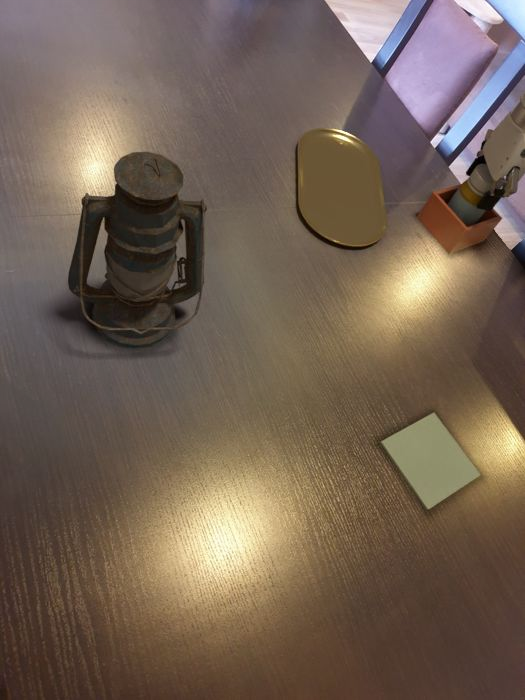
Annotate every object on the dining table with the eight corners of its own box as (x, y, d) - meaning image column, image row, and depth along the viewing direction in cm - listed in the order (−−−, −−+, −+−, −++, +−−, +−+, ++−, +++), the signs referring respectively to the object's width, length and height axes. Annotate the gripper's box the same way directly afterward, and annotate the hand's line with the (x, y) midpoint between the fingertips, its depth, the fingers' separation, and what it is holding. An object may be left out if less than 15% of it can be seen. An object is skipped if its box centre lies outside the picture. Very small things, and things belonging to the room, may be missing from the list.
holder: (451, 205, 125) (468, 181, 119) (483, 241, 121) (502, 218, 115) (416, 216, 120) (432, 192, 114) (448, 254, 116) (467, 230, 110)
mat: (432, 413, 94) (434, 412, 93) (478, 476, 89) (481, 474, 89) (379, 442, 88) (381, 441, 88) (426, 511, 84) (428, 509, 84)
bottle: (469, 230, 122) (511, 176, 110) (458, 246, 118) (500, 193, 106) (442, 212, 123) (480, 157, 111) (430, 228, 119) (468, 172, 107)
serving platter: (296, 240, 107) (299, 234, 106) (295, 125, 126) (297, 119, 125) (388, 258, 111) (391, 253, 110) (373, 144, 130) (376, 138, 129)
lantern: (190, 283, 96) (224, 136, 71) (201, 356, 88) (242, 221, 64) (69, 282, 90) (60, 121, 65) (70, 360, 83) (60, 213, 58)
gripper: (567, 154, 94) (505, 226, 108) (537, 91, 103) (483, 165, 117) (528, 145, 92) (470, 220, 106) (501, 82, 102) (451, 159, 116)
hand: (477, 191), depth 112 cm, fingers open, 8 cm apart
